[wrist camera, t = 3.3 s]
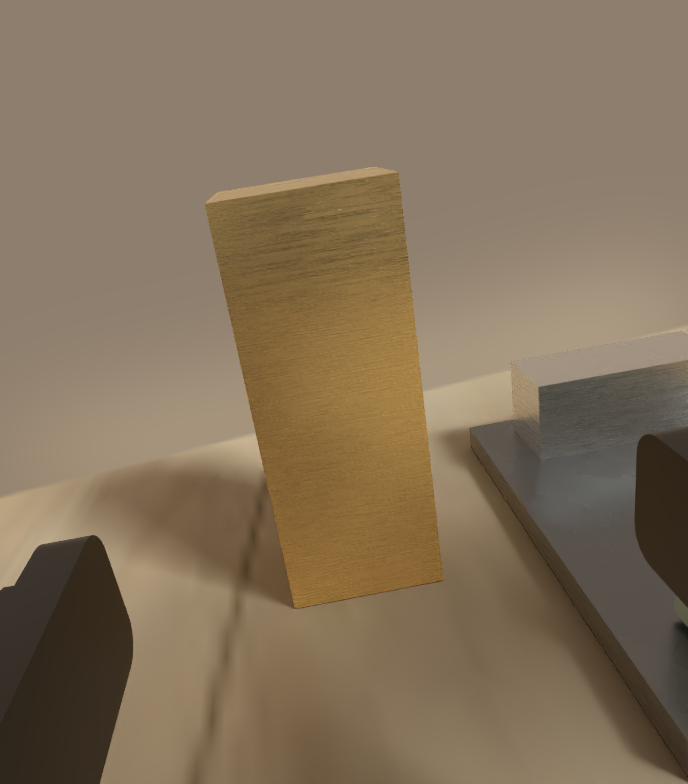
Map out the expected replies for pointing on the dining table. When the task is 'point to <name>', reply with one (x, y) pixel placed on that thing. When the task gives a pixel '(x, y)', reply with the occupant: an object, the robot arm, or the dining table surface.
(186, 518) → the dining table surface
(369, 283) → the brass block
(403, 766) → the dining table surface
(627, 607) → the base
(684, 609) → the sliding jaw
